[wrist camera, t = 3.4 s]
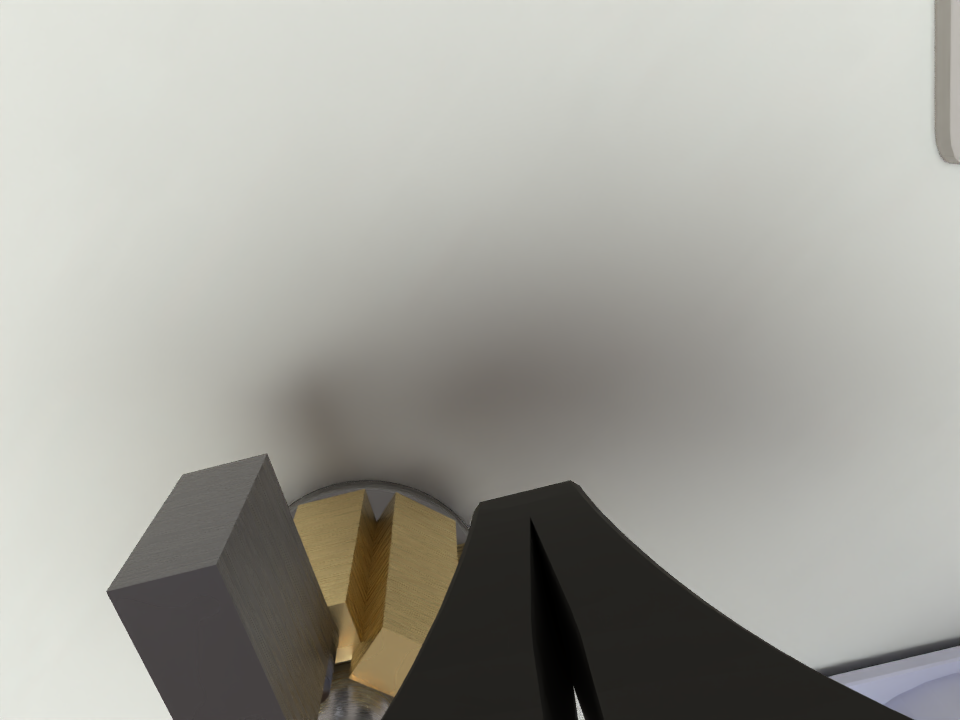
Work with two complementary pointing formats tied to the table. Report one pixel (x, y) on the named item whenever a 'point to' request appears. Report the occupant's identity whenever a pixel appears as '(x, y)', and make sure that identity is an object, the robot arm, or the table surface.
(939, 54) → the smartphone
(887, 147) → the table surface
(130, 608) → the ring nut
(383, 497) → the base
